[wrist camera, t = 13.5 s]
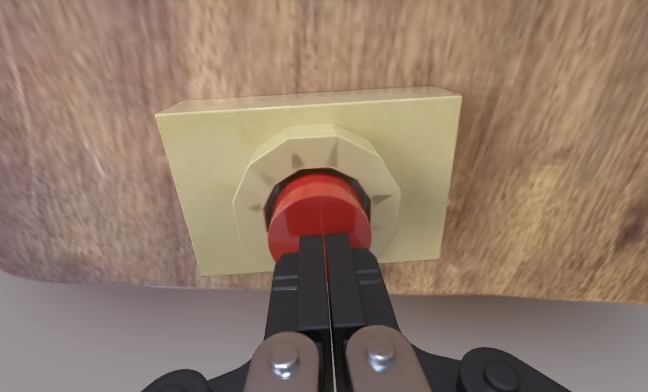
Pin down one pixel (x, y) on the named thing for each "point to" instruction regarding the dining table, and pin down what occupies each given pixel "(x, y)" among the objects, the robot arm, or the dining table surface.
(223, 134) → the button base
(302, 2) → the dining table surface
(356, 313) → the robot arm
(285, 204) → the push button
